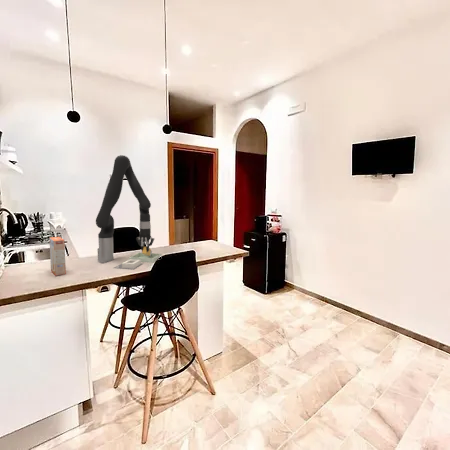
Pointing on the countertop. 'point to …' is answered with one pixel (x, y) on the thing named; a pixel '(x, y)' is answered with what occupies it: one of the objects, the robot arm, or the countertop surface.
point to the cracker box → (57, 255)
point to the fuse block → (129, 264)
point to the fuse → (146, 251)
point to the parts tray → (145, 257)
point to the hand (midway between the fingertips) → (145, 251)
